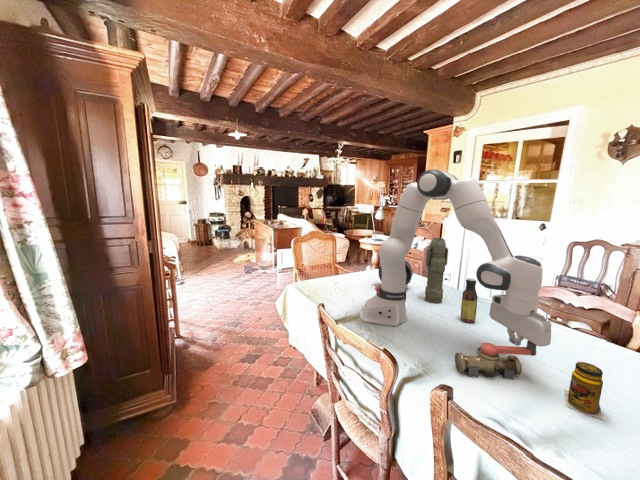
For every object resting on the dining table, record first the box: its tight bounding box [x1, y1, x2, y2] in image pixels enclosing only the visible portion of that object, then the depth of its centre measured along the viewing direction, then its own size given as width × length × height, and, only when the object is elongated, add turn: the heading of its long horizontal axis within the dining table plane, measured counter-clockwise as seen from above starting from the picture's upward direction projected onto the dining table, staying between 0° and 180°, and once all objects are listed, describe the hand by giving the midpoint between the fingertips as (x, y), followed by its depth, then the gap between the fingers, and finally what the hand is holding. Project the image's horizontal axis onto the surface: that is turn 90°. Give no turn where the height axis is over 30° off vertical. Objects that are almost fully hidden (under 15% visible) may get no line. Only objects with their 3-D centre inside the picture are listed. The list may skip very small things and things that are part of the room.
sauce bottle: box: [460, 278, 479, 324], centre depth 123 cm, size 6×6×20 cm
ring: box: [378, 259, 414, 286], centre depth 166 cm, size 11×20×20 cm, turn 89°
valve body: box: [454, 346, 523, 380], centre depth 88 cm, size 18×6×7 cm, turn 85°
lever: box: [480, 340, 538, 357], centre depth 87 cm, size 4×16×4 cm, turn 85°
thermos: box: [424, 237, 449, 305], centre depth 145 cm, size 9×12×35 cm
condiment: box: [564, 361, 604, 421], centre depth 74 cm, size 7×8×12 cm
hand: (514, 343), depth 91 cm, fingers closed
